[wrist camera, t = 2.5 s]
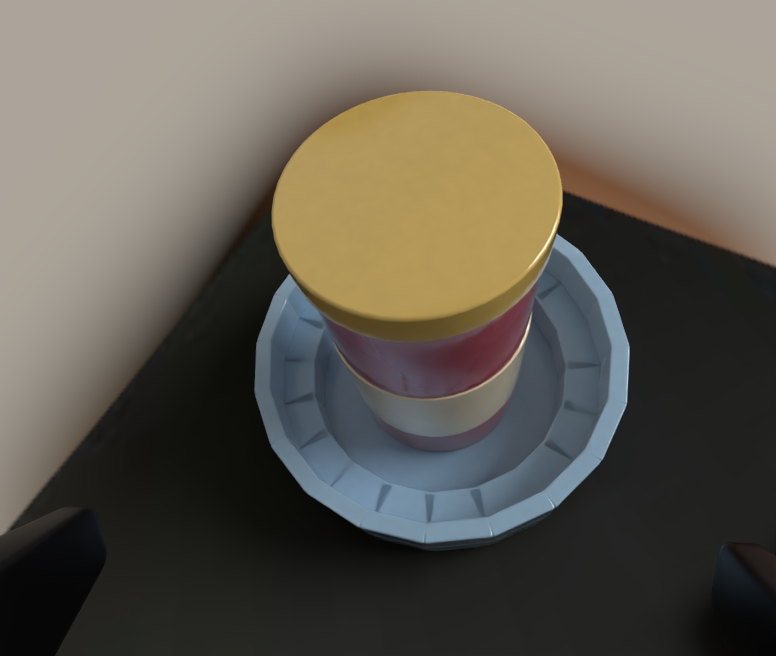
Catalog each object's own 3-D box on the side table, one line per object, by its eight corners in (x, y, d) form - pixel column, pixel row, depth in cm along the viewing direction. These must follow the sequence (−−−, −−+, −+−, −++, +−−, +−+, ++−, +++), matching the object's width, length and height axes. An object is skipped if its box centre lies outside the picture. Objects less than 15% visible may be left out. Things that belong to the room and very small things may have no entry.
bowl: (429, 635, 18) (419, 645, 15) (231, 377, 24) (190, 340, 20) (673, 388, 21) (714, 347, 17) (444, 208, 27) (441, 149, 23)
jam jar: (433, 492, 20) (397, 385, 10) (330, 376, 23) (218, 196, 12) (551, 381, 21) (630, 184, 11) (441, 284, 24) (421, 53, 14)
